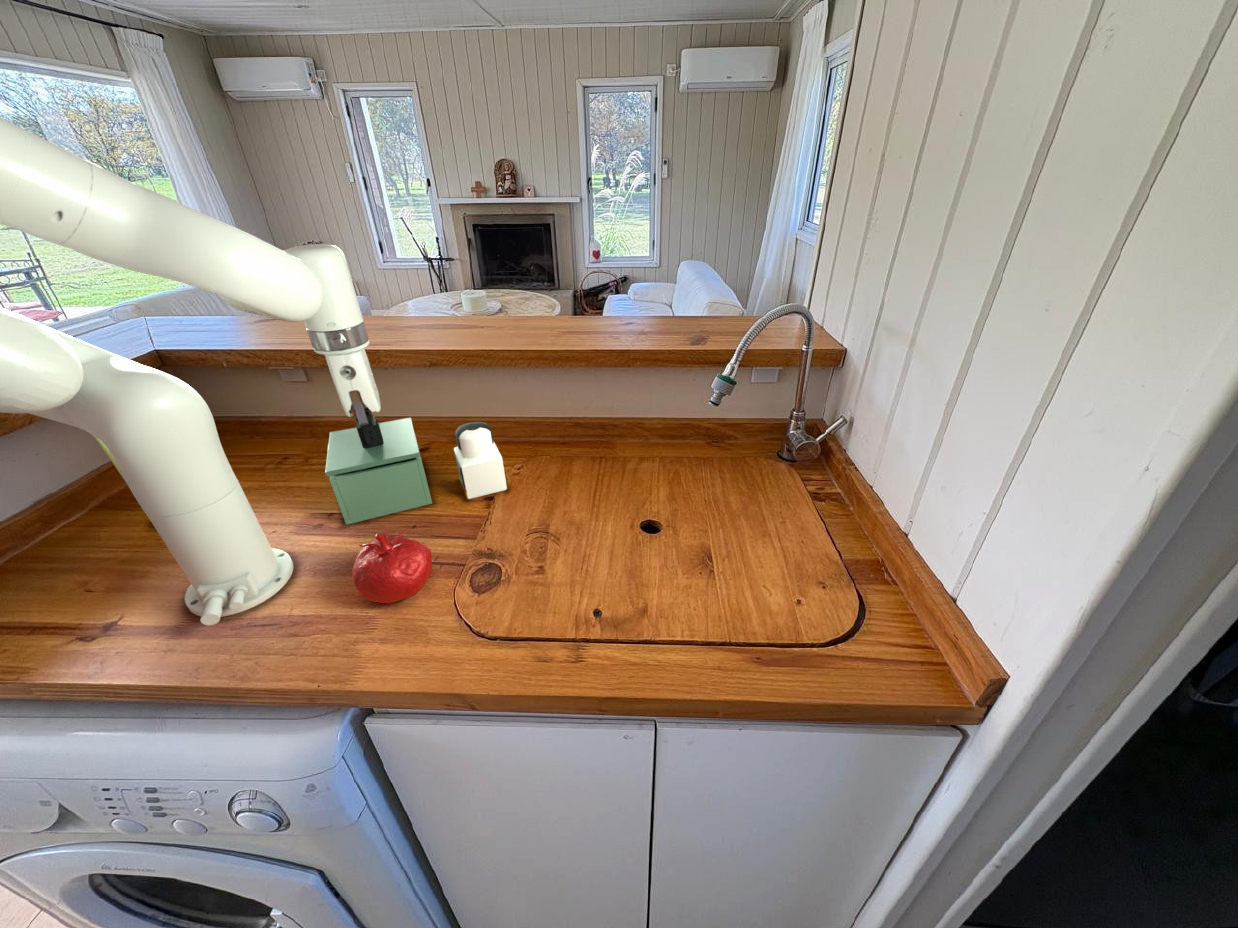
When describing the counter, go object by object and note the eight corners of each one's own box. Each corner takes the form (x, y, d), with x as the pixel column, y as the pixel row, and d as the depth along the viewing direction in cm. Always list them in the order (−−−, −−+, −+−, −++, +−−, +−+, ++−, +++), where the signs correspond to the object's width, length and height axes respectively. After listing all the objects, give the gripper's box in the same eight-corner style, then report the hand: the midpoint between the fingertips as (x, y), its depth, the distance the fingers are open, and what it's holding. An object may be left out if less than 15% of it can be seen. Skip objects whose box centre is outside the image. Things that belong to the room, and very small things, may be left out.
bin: (432, 503, 86) (421, 460, 81) (346, 525, 81) (329, 480, 76) (421, 461, 98) (411, 421, 93) (345, 477, 93) (331, 436, 88)
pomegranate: (424, 612, 65) (408, 560, 60) (348, 614, 65) (325, 561, 60) (445, 560, 74) (432, 510, 69) (377, 561, 74) (360, 511, 69)
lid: (420, 456, 80) (419, 452, 80) (326, 476, 75) (325, 472, 75) (411, 421, 93) (410, 417, 93) (331, 436, 88) (329, 432, 88)
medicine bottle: (460, 480, 92) (447, 422, 86) (498, 471, 95) (489, 414, 88) (467, 500, 87) (454, 440, 80) (507, 490, 89) (498, 431, 83)
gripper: (369, 348, 68) (401, 460, 78) (365, 320, 80) (394, 421, 90) (307, 356, 66) (349, 472, 76) (313, 326, 77) (348, 430, 87)
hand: (373, 444), depth 83 cm, fingers closed
